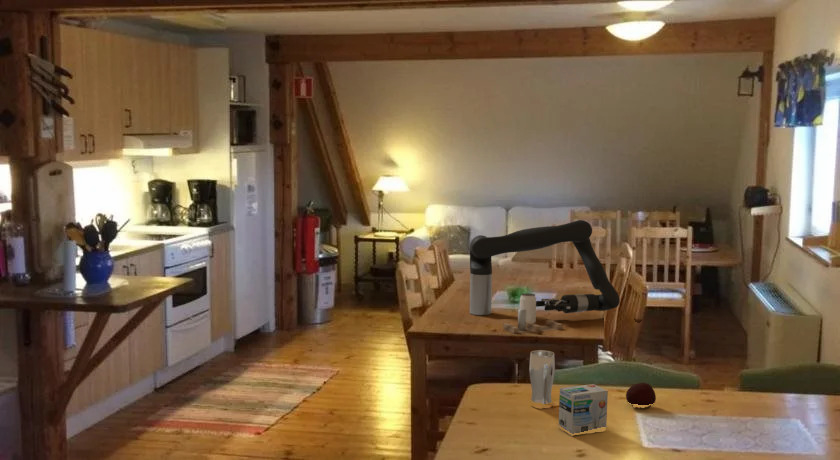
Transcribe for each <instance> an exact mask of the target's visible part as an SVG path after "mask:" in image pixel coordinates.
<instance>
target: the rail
mask: <svg viewBox="0 0 840 460" xmlns="http://www.w3.org/2000/svg"><path fill="white" fill-rule="evenodd" d="M502 329H503V330H504V331H507V332H509V333H511V334H514V335H515V334H528V333H539V332H549V331H561V330H563V324H562V323H561V322H560V323H559V322H557V321H555V320H552V319H546V320H545V324H543V325H542V324H541V325H539V324H537V323H532V322H526V330H525V331H519V328H518V326H515V325H512V324H510V323H507V322H505V323H502Z"/></svg>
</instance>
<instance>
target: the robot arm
mask: <svg viewBox="0 0 840 460" xmlns="http://www.w3.org/2000/svg"><path fill="white" fill-rule="evenodd" d="M592 234H593V227H592V225H591V224H590V223H589V222H588V221H586V220H583V219H580V220H579V219H577V220H575V221H572V222H568V223H563V224H559V225H549V226H548V225H546V226H539V227H537V226H536V227H531V228H524V229H519V230H516V231H513V232H511V233H508V234H505V235H500V236H489V237H487V236H485V235H476V236H474V237H473V238H472V239H471V242H470V244H469V271H470V273H469V314H470V315H474V316H489V315H491V314H492V301H493V300H492V299H493V297H492V294H493V293H492V289H493V287H492V286H493V285H492V284H493V265H492V257H494V256H499V255H502V254H506V253H507V254H508V253H520V252H521V253H522V252H530V251H534V250H535V251H536V250H540V249H544V248H548V247H551V246H554V245H556V244H561V243H569V242H570V243H571V242H572V244H573V245H574V247H575V250H576V251H577V253H578V254H579V257H580V258H581V260H582V263H583V264H584V265H583V266H584V268H585V271H586V272H587V275H588V278H589V281H590V283H591V285H592V287H593V289H595V290H597V291H600V293H601V294H594V293H586V294H585V293H584V294H581V293H576V294H564V295H562V296H561V297H560V299H559V298H541V300H536V308H537V307H538V308H539V307H544V311H546V312H547V311H548V312H549V311H555V312H556V311H557V312H563V314H575V313H577V314H578V313H583V312H591V311H595V312H596V311H599V312H604V311H605V312H606V311H609V310H613V309H616V308H617V307H619V305H620V301H621V300H620V295H619V293H618V291H617V289H616V288H615V287H614V286H613V284H612V283H611V281H610V279H609V278H608V276H607V273H606V270H605V268H604V266H603V265H602V262H601V261H600V259H599V258H598V256H597V254H596V252H595V250H594V248H593V246H592V243H591V242H592V241H591V236H592Z"/></svg>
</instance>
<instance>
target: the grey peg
mask: <svg viewBox="0 0 840 460" xmlns="http://www.w3.org/2000/svg"><path fill="white" fill-rule="evenodd" d="M517 327H518V328H519V331H525V330H526V309H520V308H518V309H517Z"/></svg>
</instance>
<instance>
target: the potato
mask: <svg viewBox="0 0 840 460" xmlns="http://www.w3.org/2000/svg"><path fill="white" fill-rule="evenodd" d="M656 395H657V394H656V392H655V390H654V388H653V387H652V385H650V384H649V383H647V382H639V383H635V384H633V385H631V386H630V387H629V388H628V389H627V391H626V393H625V398H626V402H627V403H628V402H629V403H631V404H638V405H649V404H653V403H654V404H655V403H656V401H657V400H656V399H657V396H656ZM629 403H628V404H629ZM654 404H653V405H654Z"/></svg>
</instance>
